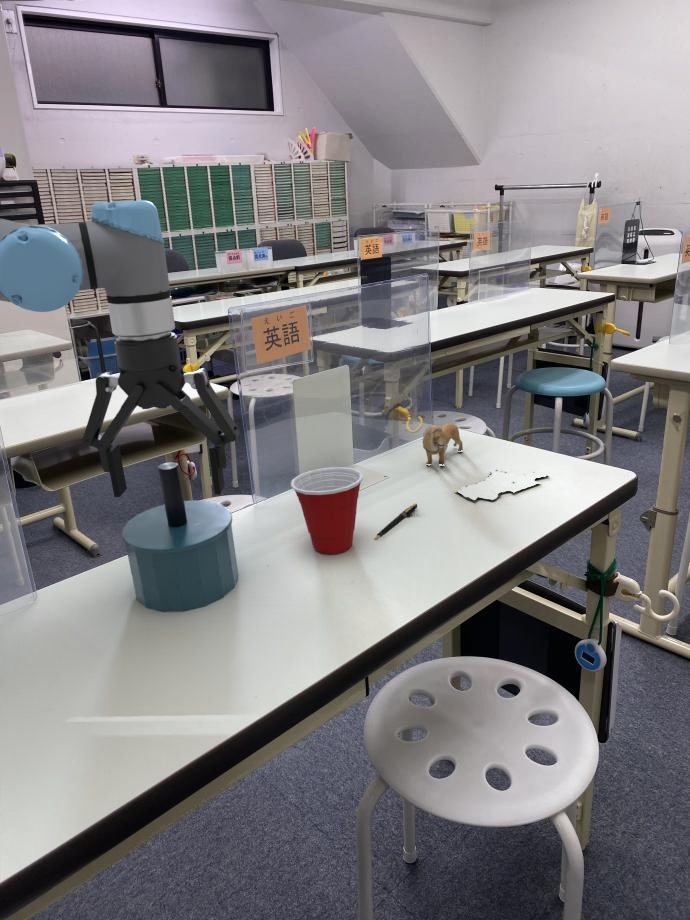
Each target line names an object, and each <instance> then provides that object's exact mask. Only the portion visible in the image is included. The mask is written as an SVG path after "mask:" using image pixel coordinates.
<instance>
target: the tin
mask: <svg viewBox="0 0 690 920" xmlns="http://www.w3.org/2000/svg"><path fill="white" fill-rule="evenodd" d="M235 548H236V547H235V541H234V533H233V526H232V524H231V526H230V528H229V529H228V530H227V532H225V533H224V534H223V535H222V536H220V537H219V538H217V539H216V540H214V541H212V542H210V543H208V544H205V545H203V546H200V547H197V548H194V549H190V550H186V551H180V552H173V553H146V552H141V551H137V550H134V549H132V548H130V547H129V546H127V545H126V544H125V549H126V553H127V556H128V557H127V558H128V562H129V568H130V573H131V579H132V582H133V587H134V592H135V598H136V600H137V602H139V603H140V604H141V605H142V606H143V607H144V608H146V609H148V610H149V609H150V610H153V611H157V612H161V613H183V612H187V611H192V610H197V609H201V608H204V607H207V606H209V605H211V604H214V603H215V602H218V601H219V600H222V599H224V598H225V597H226V596H227V595H228V594H229V593H230V592H231V591H232V590H234V589H235V587H236V585H237V583H238V579H239V570H238V564H237V563H238V562H237V556H236V549H235Z"/></svg>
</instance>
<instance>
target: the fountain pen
mask: <svg viewBox="0 0 690 920" xmlns="http://www.w3.org/2000/svg"><path fill="white" fill-rule="evenodd" d="M417 508H418V504H417V502H416V503H413V504H412V505H409V507H407V508H405V509H404V510H403V511H401V512H400V513H399V514H398V515H397V516H396V517H395V518H394V519H392V520H391V521H390V522H389V523H388V524H386V526H384V527H383V528H382V529H381V530H380V531H379V532H378V533H377V534H376V536H375V537H373V540H377V539H379V538H382V537H383V536H384V535H385V534H387V533H388V532H389V531H391V530H392V529H393V528H395V527H396V526H397V525H399V524H400V523H401V522H402V521H403V520H405V519H408V518H409V517H410V516H411V515H412V514H413V513H414V512H415V511H416V509H417ZM409 515H410V516H409ZM408 516H409V517H408Z"/></svg>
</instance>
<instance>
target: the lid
mask: <svg viewBox="0 0 690 920" xmlns="http://www.w3.org/2000/svg"><path fill="white" fill-rule="evenodd" d="M157 469H158V475H159V480H160V481H159V482H160V487H161V492H162V498H163V504H161V505H157V506H154V507H151V508H149V509H146V510H144V511H142V512H140V513H138V514H137V515H135V516H134V517H132V518H131V519H130V520H128V522H127V523H126V524H125V525H124V526H123V528H122V531H121V537H122V540H123V542H124V544H125V546H126V545H127V546H129V547H130V548H132V549H134V550H137V551H141V552H146V553H173V552H180V551H186V550H190V549H194V548H197V547H200V546H203V545H205V544H208V543H210V542H212V541H214V540H216V539H217V538H219V537H220V536H222V535H223V534H224V533H225V532H227V530H228V529H229V528H230V526H231V525H232V524H233V514H232V512H231V511H230V509H229V508H228V507H227V506H225V505H223V504H221V503H218V502H215V501H209V500H200V499H199V500H196V499H195V500H194V499H193V500H185V497H184V492H183V487H182V479H181V474H180V469H179V464H178V463H177V462H174V461H172V462H171V461H170V462H165V463H162V464H160V465H158V466H157Z"/></svg>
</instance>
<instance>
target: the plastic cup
mask: <svg viewBox="0 0 690 920" xmlns="http://www.w3.org/2000/svg"><path fill="white" fill-rule="evenodd" d="M363 474H364V473H363V472H362V471H360V470H358V469H356V468H351V467H343V466H342V467H340V466H331V467H323V468H322V467H321V468H316V469H312V470H309V471H306V472H303V473H301V474H298V475H297V476H295V477H294V478H293V479H292V480H291V482H290V487H291V488H292V489H293V490H294V492H295V494H296V497H297V499H298V502H299V503H300V507H301V510H302V514H303V517H304V521H305V524H306V528H307V532H308V534H309V536H310V540H311V544H312V547H313V549H314V551H316V552H317V553H319V554H321V555H327V556H330V555H331V556H333V555H340V554H344V553H345V552H347V551H349V550H350V549H351V547H352V546H353V542H354V541H353V540H354V532H355V529H356V528H355V527H356V518H357V509H358V508H357V507H358V499H359V495H360V494H359V493H360V489H361V488H360V487H361V484H362V482H363V479H364V475H363Z"/></svg>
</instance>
